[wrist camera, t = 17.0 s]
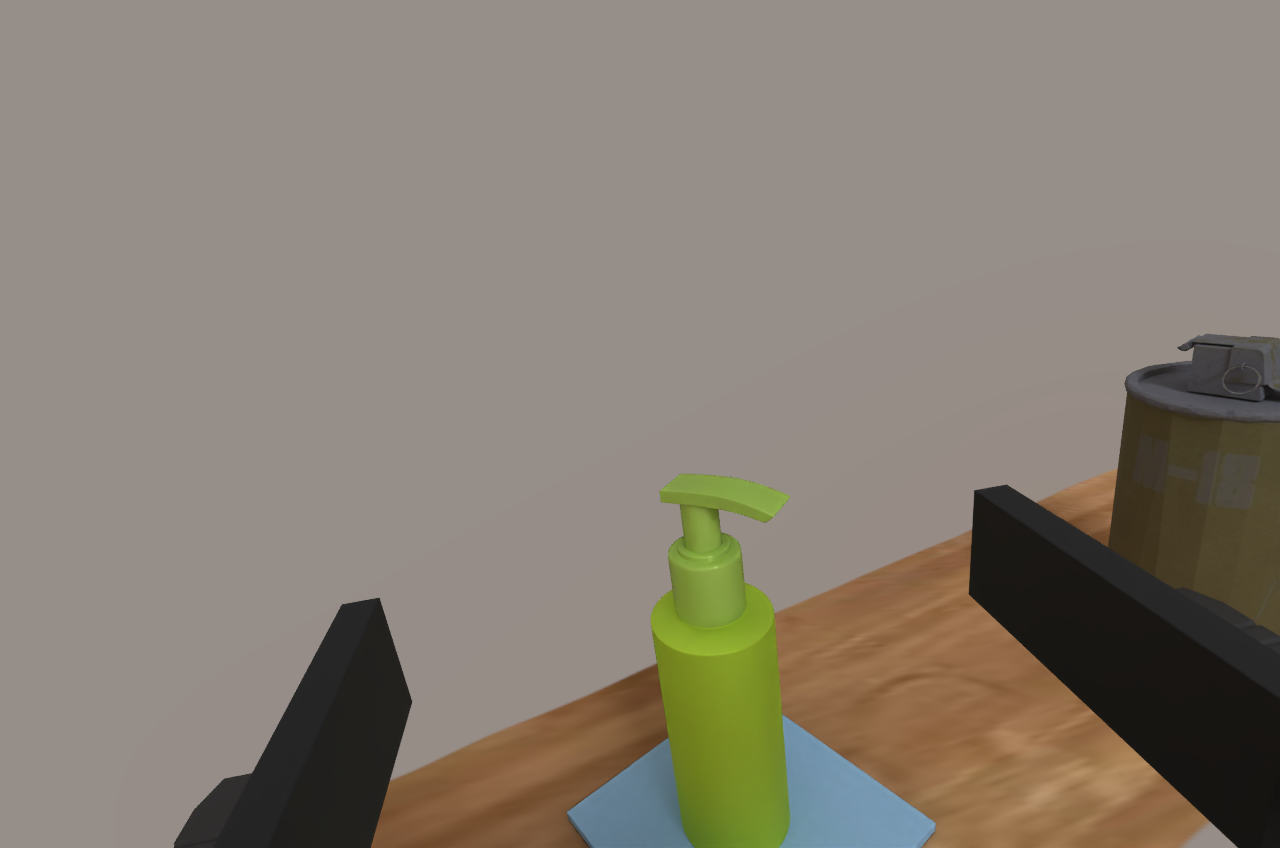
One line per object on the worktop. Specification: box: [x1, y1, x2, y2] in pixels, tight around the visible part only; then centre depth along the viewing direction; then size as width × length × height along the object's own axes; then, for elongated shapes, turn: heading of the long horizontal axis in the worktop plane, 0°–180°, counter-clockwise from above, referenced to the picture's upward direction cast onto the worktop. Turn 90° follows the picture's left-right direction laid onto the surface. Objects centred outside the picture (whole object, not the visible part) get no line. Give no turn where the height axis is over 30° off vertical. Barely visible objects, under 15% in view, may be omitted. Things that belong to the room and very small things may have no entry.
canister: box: [1108, 334, 1280, 636], centre depth 41 cm, size 11×10×20 cm
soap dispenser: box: [651, 474, 790, 848], centre depth 31 cm, size 6×7×20 cm
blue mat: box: [567, 714, 935, 848], centre depth 35 cm, size 14×14×1 cm
